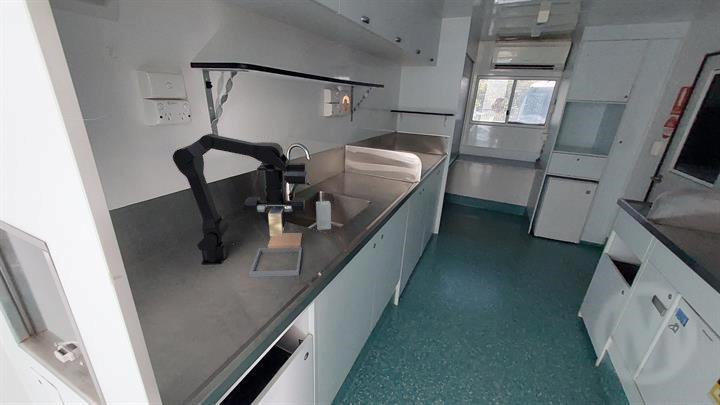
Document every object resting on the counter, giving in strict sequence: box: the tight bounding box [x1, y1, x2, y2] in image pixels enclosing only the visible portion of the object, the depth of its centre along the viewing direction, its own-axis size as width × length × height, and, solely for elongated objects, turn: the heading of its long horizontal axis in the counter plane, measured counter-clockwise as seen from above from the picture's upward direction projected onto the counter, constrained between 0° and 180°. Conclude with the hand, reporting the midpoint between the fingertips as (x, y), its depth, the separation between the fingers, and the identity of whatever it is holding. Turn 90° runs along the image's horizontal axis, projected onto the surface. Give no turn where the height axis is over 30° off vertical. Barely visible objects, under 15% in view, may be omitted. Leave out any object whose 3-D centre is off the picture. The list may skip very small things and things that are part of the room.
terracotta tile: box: [267, 232, 303, 248], centre depth 115 cm, size 12×10×1 cm
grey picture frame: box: [248, 246, 303, 278], centre depth 101 cm, size 16×16×2 cm
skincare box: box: [315, 200, 332, 231], centre depth 126 cm, size 6×4×12 cm
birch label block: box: [268, 207, 285, 237], centre depth 97 cm, size 4×5×8 cm
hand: (276, 227), depth 98 cm, fingers closed on birch label block, 4 cm apart
